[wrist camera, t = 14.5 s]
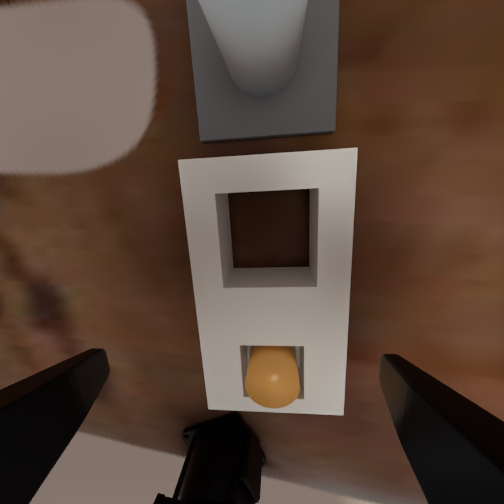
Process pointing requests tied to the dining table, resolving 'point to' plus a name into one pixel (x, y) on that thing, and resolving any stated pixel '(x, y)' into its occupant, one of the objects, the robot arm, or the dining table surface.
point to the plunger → (272, 376)
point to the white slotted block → (272, 276)
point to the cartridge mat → (279, 105)
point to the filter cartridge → (258, 41)
